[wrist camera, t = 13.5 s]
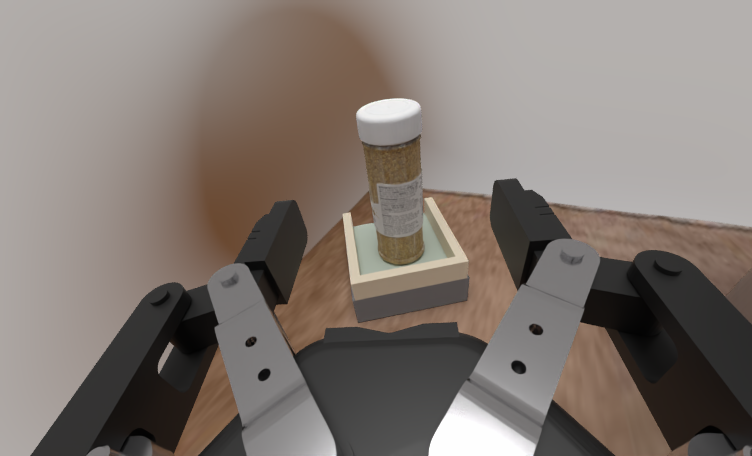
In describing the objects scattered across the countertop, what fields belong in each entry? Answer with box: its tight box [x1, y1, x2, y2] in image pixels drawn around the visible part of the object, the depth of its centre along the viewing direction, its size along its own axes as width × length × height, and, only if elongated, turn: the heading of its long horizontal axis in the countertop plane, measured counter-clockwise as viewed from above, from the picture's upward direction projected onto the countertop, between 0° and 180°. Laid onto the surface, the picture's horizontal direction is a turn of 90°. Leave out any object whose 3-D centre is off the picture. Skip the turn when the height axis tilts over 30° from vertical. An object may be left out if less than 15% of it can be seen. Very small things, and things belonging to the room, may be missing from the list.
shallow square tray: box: [343, 197, 469, 323], centre depth 30 cm, size 10×10×5 cm
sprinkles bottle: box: [356, 99, 425, 264], centre depth 25 cm, size 5×5×14 cm
